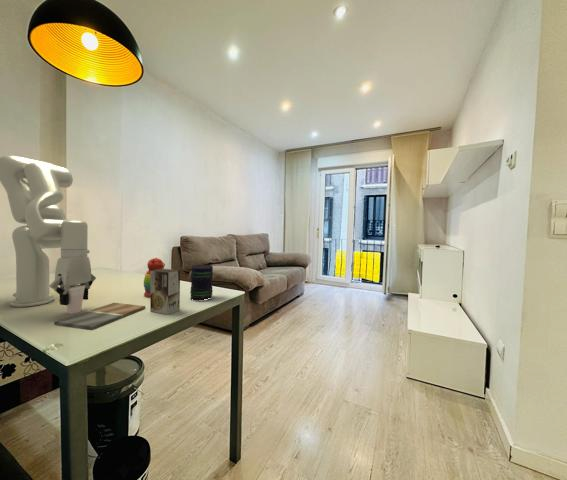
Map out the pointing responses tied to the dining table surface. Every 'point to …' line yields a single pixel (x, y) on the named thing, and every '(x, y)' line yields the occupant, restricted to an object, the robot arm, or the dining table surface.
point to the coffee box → (164, 291)
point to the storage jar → (201, 282)
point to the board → (99, 316)
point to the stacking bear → (152, 265)
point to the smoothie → (75, 298)
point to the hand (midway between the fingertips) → (74, 301)
